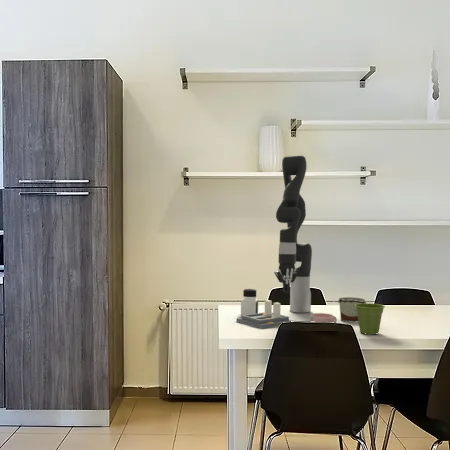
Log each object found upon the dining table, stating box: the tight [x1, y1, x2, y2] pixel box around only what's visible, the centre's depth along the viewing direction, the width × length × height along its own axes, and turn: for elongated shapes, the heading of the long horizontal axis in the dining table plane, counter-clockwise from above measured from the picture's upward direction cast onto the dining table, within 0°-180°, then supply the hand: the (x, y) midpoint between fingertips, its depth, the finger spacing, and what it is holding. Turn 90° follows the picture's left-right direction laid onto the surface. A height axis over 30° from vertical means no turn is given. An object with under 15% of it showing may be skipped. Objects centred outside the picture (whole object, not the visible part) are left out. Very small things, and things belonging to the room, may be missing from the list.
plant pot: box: [355, 302, 386, 335], centre depth 227 cm, size 12×12×11 cm
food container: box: [337, 296, 367, 322], centre depth 254 cm, size 12×6×10 cm, turn 71°
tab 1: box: [262, 299, 273, 315], centre depth 250 cm, size 4×3×7 cm
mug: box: [309, 312, 338, 324], centre depth 234 cm, size 12×10×6 cm
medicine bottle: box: [240, 288, 259, 316], centre depth 263 cm, size 7×7×12 cm
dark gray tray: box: [236, 311, 294, 330], centre depth 244 cm, size 18×17×3 cm
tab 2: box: [271, 302, 281, 318], centre depth 243 cm, size 4×3×7 cm
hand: (286, 292), depth 246 cm, fingers closed
